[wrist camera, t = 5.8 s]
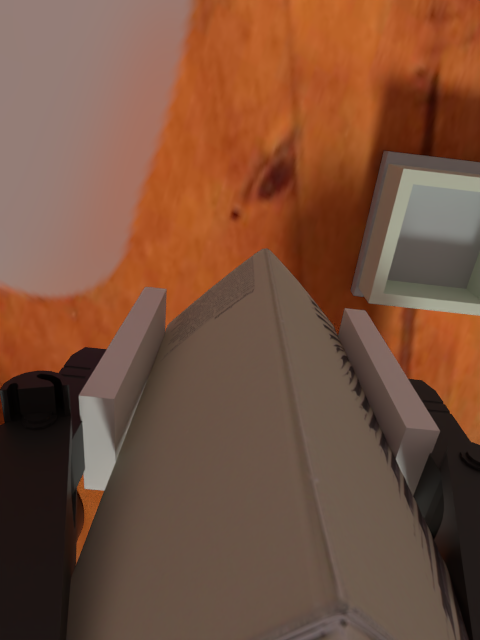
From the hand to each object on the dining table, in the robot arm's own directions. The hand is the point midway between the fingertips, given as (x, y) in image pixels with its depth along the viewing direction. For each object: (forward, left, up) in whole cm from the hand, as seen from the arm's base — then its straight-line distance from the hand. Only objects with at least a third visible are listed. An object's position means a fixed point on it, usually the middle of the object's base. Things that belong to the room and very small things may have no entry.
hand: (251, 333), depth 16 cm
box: (0, 0, -1) cm, 1 cm away
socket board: (+17, +1, -17) cm, 24 cm away
